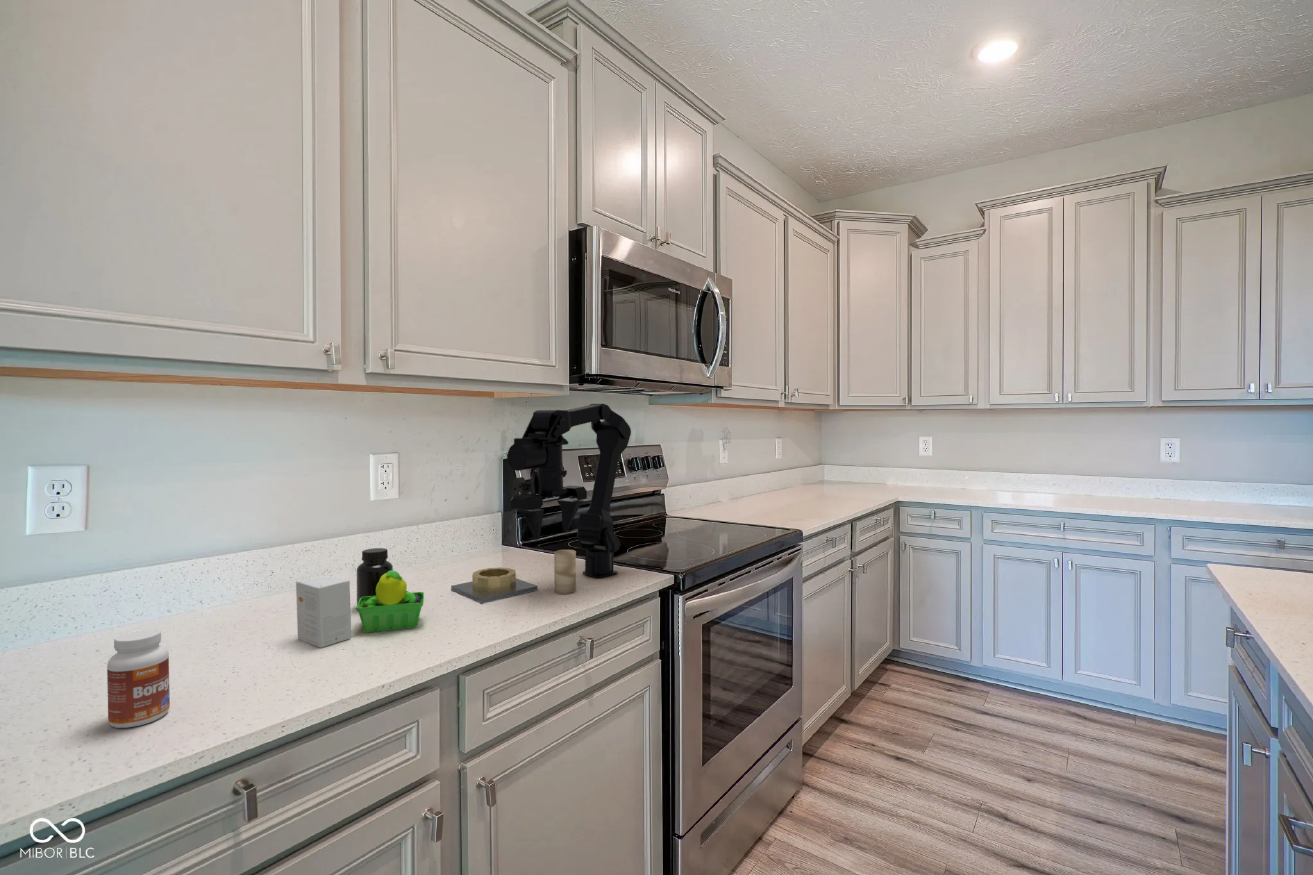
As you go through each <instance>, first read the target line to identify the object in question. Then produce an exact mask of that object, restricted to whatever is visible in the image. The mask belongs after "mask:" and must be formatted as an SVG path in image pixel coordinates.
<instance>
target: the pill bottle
mask: <svg viewBox="0 0 1313 875" xmlns="http://www.w3.org/2000/svg"><path fill="white" fill-rule="evenodd" d="M161 642H162V632H161V630H160V629H157V628H144V629H138V630H133V631H127V632H125V633H122V634H119V635H117V636H115V637H114V639H113V649H114V650H115V651H116V653H114V654H113V655H112V656H111V657H110V658H109V659H108V661H107V664H106V672H107V673H106V677H107V678H106V679H107V684H106V685H107V716H108V717H107V719H108V721H107V722H108V724H109V726H110V727H112V728H116V729H125V728H126V729H128V728H133V727H139V726H143V725H147V724H149V723H152V722H156V720H158V719H160V718H162V717H164V716H165V715H166V714H167V713H168V712H169V711H170V709H171V708H170V707H171V705H170V704H171V703H170V702H171V701H170V700H171V698H170V693H171V692H170V660H169V659H170V657H169V650H168V648H166V647H165V646H163V645H160V643H161Z"/></svg>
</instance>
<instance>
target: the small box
mask: <svg viewBox="0 0 1313 875" xmlns="http://www.w3.org/2000/svg"><path fill="white" fill-rule="evenodd" d="M350 582H351V581H350V580H347V579H343V578H341V577H337V576H332V575H328V574H325V575H319V576H316V577H311V578H305V579H301V580H297V581H295V588H296V589H295V592H296V593H295V594H296V619H297V622H296V623H297V626H296V628H297V639H298V640H300V641H302V642H305V643H307V644H310V645H313V646H315V647H318V648H319V649H321V648H325V647H327V646H330V645H334V644H337V643H340V642H344V641H346V640H349V639H351V638H352V620H351V619H352V618H351V617H352V615H351V613H352V612H351V590H350V588H351V587H350V584H351V583H350Z"/></svg>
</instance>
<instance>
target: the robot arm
mask: <svg viewBox="0 0 1313 875" xmlns="http://www.w3.org/2000/svg"><path fill="white" fill-rule="evenodd" d="M589 423H590V427H591V428H590V429H591V430H592V431H593V432H594V434H596V438H595V442H596V445H597V447H598V451H599V456H598V463H597V467H596V474H595V478H594V484H593V488H592V494H591V497H590V498H591V499H590V505H589V508H588V509H587V510H586V511H585V513H583V512H581V513H580V515H579V516H578V524H577V527H576V530H577V538H578V541H579V546H580V549H581V550H585V551H586V552H585V554H586V556H585V557H584V562H585V563H584V566H585V567H584V571H582V574H583V575H585V576H589V577H592V578H596V579H601V578H605V577H606V578H607V577H609V576H614V575H617V574H618V571H617V570H614V553H617V551H619V550H620V544H621V541H620V540H619V537H617V535H616V533H615V532H614V522H613V518H612V516H611V513H610V509H611V504H612V497H613V493H614V486H615V481H616V476H617V472H618V471H617V470H618V466H619V459H620V456H621V455H622V453H623V452H624V451H625V450H626V449H627V447H628V444H629V441H630V439H631V435H632V429H631V426H630V424H628V422H627V421H626V420H625V418H624V417H623V416H622V415H620V414H619V413H616V412H615V411H613V410H612V409H611V407H610V406H609V405H608V404H606V403H590V404H588V405H584V406H580V407H575V408H569V409H566V410H565V409H538V410H535V411H534V412H533V413H532V416H531V418H530V420H529V423H528V424H527V426H526V429H525V431H524V433H523V435H522V437H517V438H513V444H512V445H511V446H510V447H509V448H508V450H507V453H506V459H507V463H508V465H509V467H510V468H511V469H512V470H513V471H517V472H518V471H519V472H520V471H526V470H531V469H533V470H532V472H531V478H528V479H525V478H524V476H520V477H516V478H514V479H512V480H513V481H512V482H513V483H512V488H513V491H514V493H515V494H514V495H513V496H512V497H511V499H510V509H513V510H515V511H516V512H517V513H521V514H522V515H523V516H524V518H525V520H526V522H527V524H528V526H529V529H530V532H531V534H532V537H533V540H539V539H540V537H541V531H542V524H543V518H544V517H543V516H544V510H545V509H544V508H542V507H543V505H544V504H545V503H550V502H554V501H557V503H558V505H559V506H560V509H561V511H560V512H561V523H562V524H561V525H562V531H563V532H564V533H568V532H569V529H570V527H571V525H572V523H573V521H574V519H575V517H576V515H577V512H578V511H579V509H580V506H581V505H582V504H584V500H586V499H587V498H588V490H587V489H586V488H585V486H582V485H581V486H579V485H572V484H571V485H565V486H564V476H567V475H568V470H566V469H563V467H564V466H563V464H564V462H563V446H566V445H567V446H568V444H569V441H568V440H567V439H566V438H565V437H564V436H563V435H565V434H566V433H568V432H569V431H570V430H571V428H573V427H577V426H581V425H584V424H589ZM534 469H536V470H534Z"/></svg>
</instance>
